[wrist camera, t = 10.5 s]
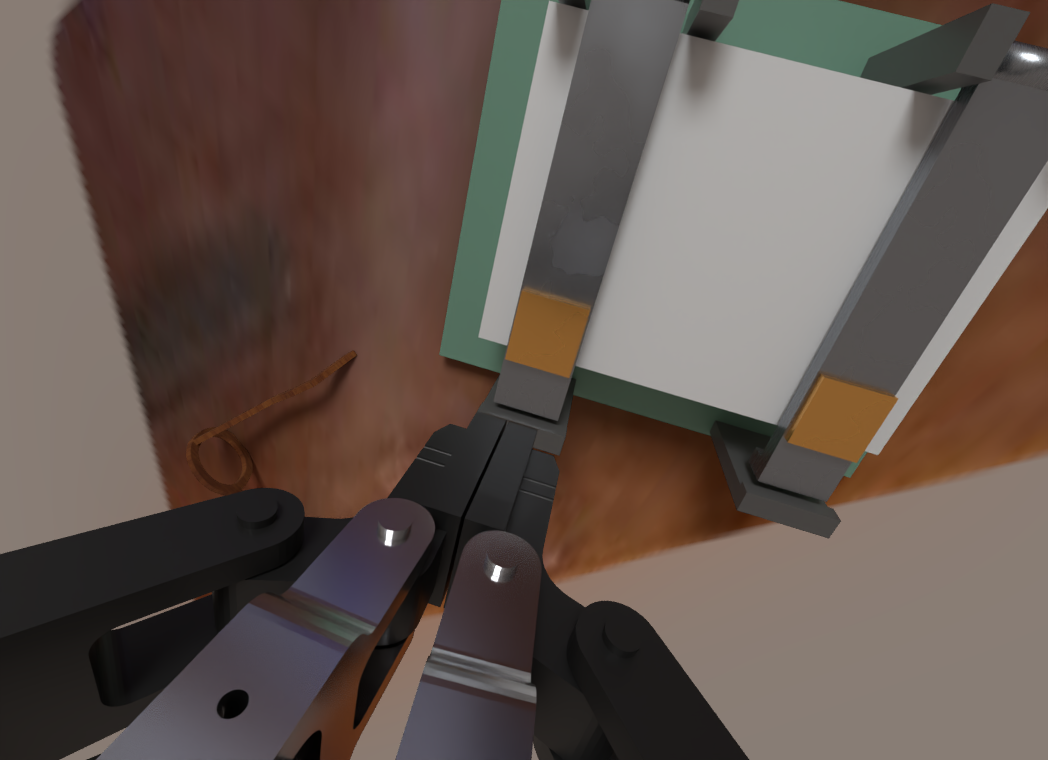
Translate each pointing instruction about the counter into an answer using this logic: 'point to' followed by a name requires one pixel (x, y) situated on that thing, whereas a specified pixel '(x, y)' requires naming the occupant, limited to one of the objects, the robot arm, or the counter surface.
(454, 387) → the counter surface
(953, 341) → the base
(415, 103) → the counter surface
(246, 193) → the counter surface
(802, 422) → the strap
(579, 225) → the strap
